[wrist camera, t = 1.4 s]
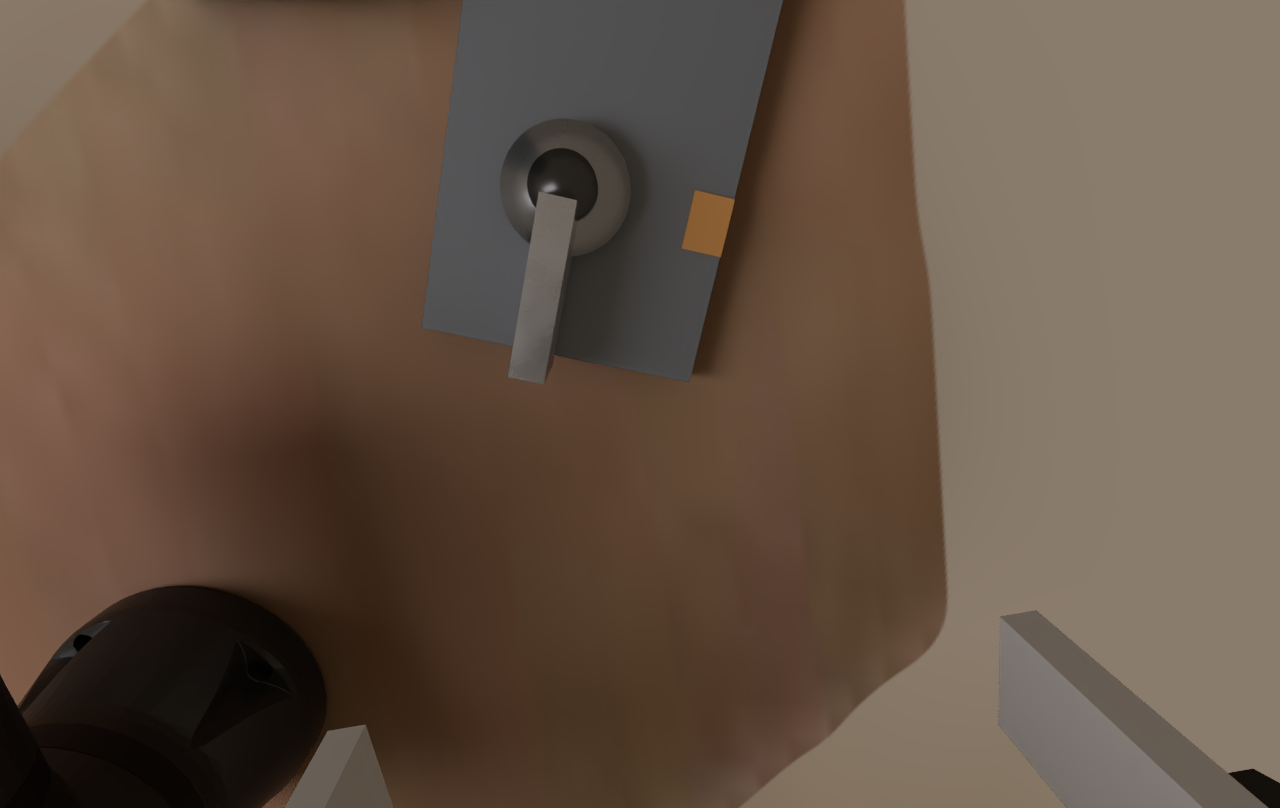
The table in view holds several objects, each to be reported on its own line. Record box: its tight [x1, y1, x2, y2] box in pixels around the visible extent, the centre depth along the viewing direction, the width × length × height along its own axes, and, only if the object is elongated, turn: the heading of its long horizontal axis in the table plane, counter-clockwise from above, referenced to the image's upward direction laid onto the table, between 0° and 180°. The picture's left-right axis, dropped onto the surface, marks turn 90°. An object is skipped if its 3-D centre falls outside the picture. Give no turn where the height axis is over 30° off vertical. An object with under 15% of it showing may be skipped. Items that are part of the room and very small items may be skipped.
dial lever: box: [500, 118, 631, 384], centre depth 27 cm, size 12×6×4 cm, turn 168°
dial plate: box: [422, 0, 783, 382], centre depth 29 cm, size 14×20×2 cm
